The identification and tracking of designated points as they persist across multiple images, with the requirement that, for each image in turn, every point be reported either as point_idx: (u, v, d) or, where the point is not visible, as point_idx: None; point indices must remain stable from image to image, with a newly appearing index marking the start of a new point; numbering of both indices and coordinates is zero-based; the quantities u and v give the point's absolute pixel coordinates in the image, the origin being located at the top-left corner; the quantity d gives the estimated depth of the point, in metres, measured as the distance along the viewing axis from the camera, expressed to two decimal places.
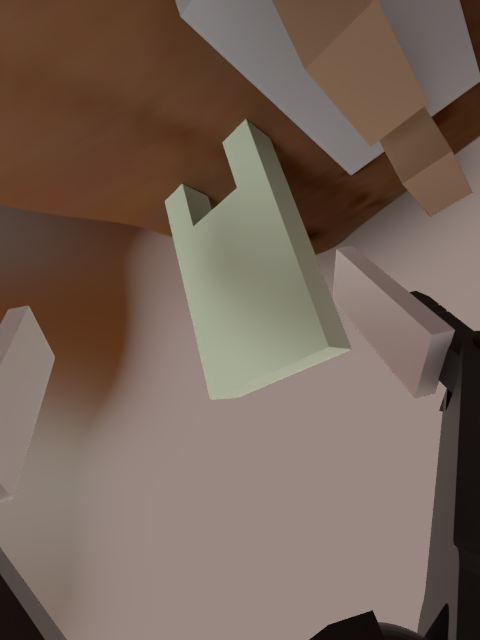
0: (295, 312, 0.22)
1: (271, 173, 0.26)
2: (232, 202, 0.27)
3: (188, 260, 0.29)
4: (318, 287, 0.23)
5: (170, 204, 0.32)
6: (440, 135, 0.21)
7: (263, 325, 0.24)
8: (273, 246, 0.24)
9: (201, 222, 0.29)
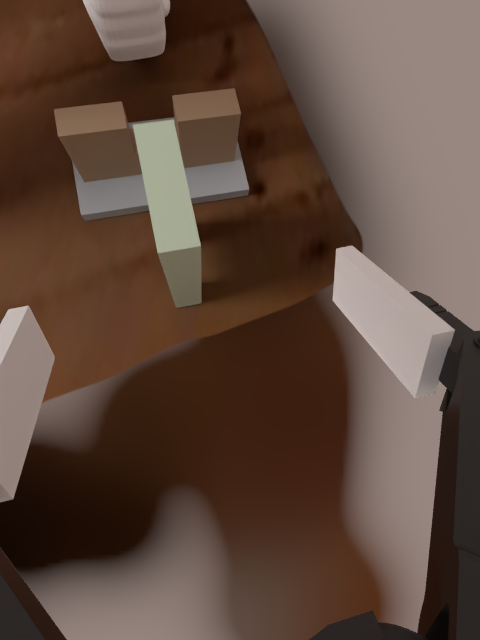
0: None
1: None
2: None
3: None
4: None
5: None
6: (173, 105, 0.38)
7: None
8: None
9: None
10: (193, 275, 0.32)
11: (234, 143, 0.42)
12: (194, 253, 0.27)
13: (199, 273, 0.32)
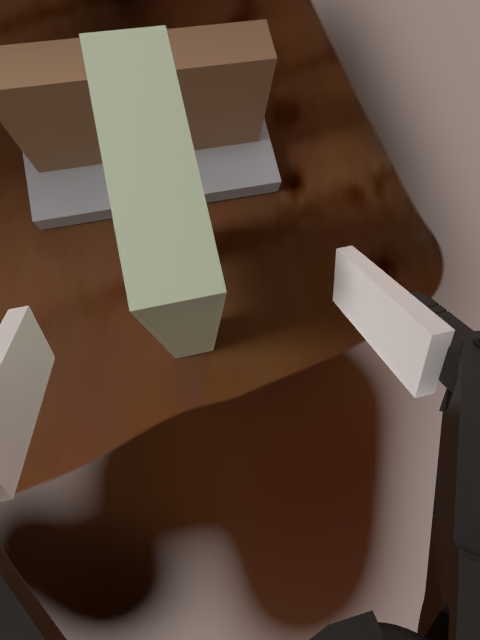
0: None
1: None
2: None
3: None
4: None
5: None
6: None
7: None
8: None
9: None
10: (204, 330, 0.18)
11: (261, 112, 0.28)
12: (211, 304, 0.13)
13: (215, 326, 0.18)
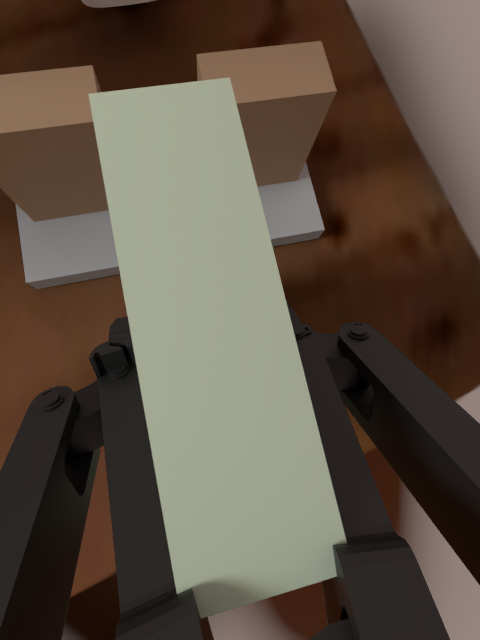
0: None
1: None
2: None
3: None
4: None
5: None
6: (197, 77, 0.19)
7: None
8: None
9: None
10: None
11: (306, 150, 0.23)
12: None
13: None
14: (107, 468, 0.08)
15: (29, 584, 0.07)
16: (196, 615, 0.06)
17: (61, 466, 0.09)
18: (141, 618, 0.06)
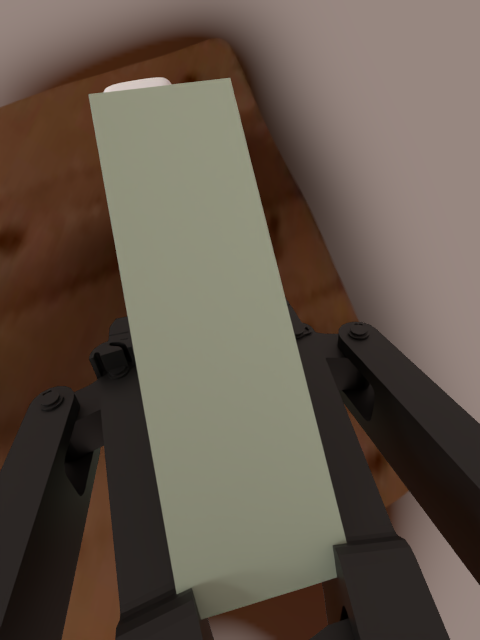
0: None
1: None
2: None
3: None
4: None
5: None
6: None
7: None
8: None
9: None
10: None
11: None
12: None
13: None
14: (107, 468, 0.08)
15: (29, 584, 0.07)
16: (196, 615, 0.06)
17: (61, 466, 0.09)
18: (141, 618, 0.06)
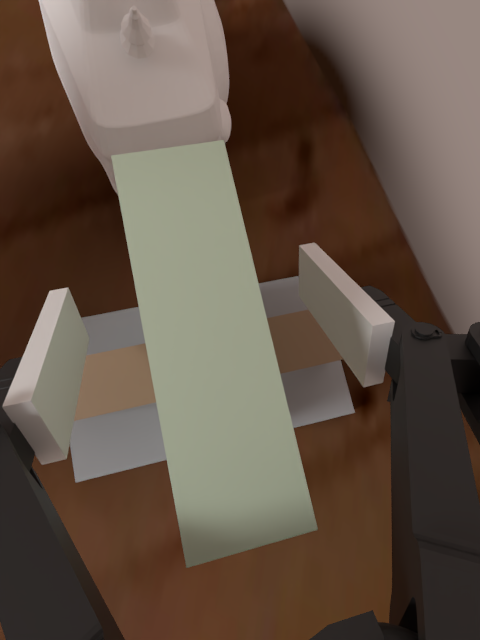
0: None
1: None
2: None
3: None
4: None
5: None
6: None
7: None
8: None
9: None
10: None
11: None
12: None
13: None
14: None
15: None
16: None
17: None
18: None
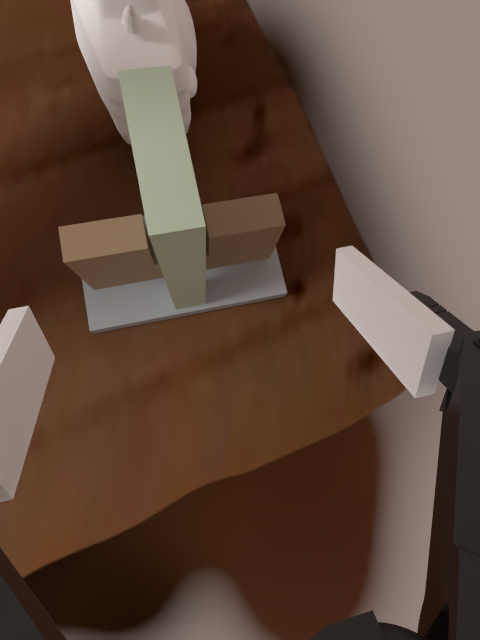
0: None
1: None
2: None
3: None
4: None
5: None
6: None
7: None
8: None
9: None
10: (195, 269, 0.26)
11: (272, 246, 0.35)
12: (197, 237, 0.20)
13: (203, 266, 0.25)
14: None
15: None
16: None
17: None
18: None
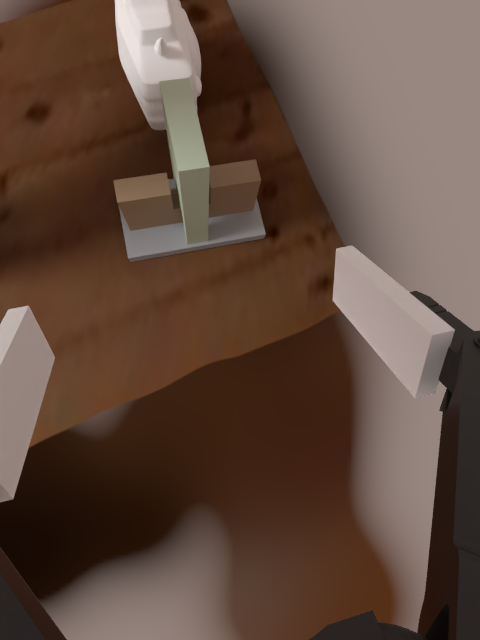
0: (164, 113, 0.39)
1: None
2: (175, 181, 0.48)
3: (183, 215, 0.46)
4: None
5: (186, 238, 0.52)
6: None
7: (169, 135, 0.39)
8: (168, 142, 0.43)
9: None
10: (202, 202, 0.41)
11: (254, 199, 0.51)
12: (204, 175, 0.36)
13: (207, 200, 0.41)
14: None
15: None
16: None
17: None
18: None
